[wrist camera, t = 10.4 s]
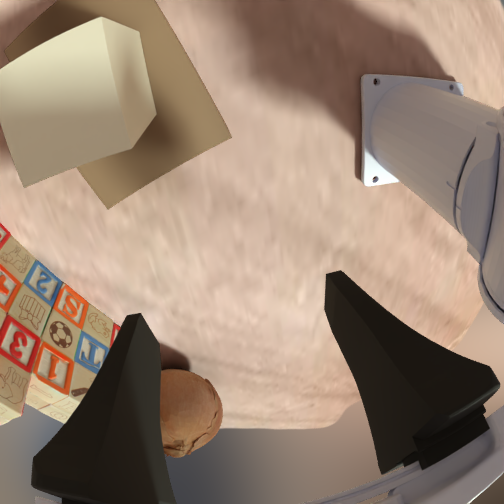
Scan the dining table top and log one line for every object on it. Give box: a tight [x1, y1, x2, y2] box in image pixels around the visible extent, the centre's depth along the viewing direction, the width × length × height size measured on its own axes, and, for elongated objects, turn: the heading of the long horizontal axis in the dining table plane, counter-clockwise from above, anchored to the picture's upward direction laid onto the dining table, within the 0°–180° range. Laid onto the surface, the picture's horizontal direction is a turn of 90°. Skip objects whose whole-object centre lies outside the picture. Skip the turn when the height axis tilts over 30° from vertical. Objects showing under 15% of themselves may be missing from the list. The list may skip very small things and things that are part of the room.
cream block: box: [0, 17, 157, 188], centre depth 9 cm, size 4×4×6 cm
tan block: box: [4, 0, 232, 209], centre depth 13 cm, size 8×12×3 cm, turn 25°
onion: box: [160, 368, 223, 457], centre depth 26 cm, size 10×9×10 cm
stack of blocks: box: [0, 223, 121, 425], centre depth 16 cm, size 21×6×12 cm, turn 32°
